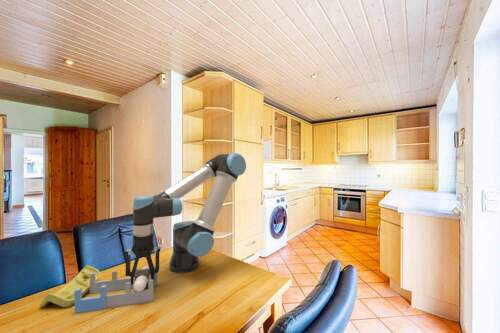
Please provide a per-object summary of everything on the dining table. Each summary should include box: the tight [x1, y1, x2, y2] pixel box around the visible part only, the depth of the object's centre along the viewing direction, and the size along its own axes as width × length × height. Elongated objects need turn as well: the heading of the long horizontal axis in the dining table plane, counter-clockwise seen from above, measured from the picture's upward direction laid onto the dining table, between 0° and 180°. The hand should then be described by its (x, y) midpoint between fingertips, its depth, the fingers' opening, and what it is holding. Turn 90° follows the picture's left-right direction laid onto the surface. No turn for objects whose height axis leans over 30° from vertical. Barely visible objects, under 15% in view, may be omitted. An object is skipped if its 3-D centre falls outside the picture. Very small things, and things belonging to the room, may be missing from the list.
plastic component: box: [39, 264, 101, 308], centre depth 90 cm, size 20×7×10 cm
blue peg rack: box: [73, 265, 159, 314], centre depth 87 cm, size 26×13×8 cm, turn 106°
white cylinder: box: [132, 265, 150, 292], centre depth 90 cm, size 16×5×5 cm, turn 16°
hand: (142, 290), depth 90 cm, fingers closed on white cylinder, 5 cm apart
